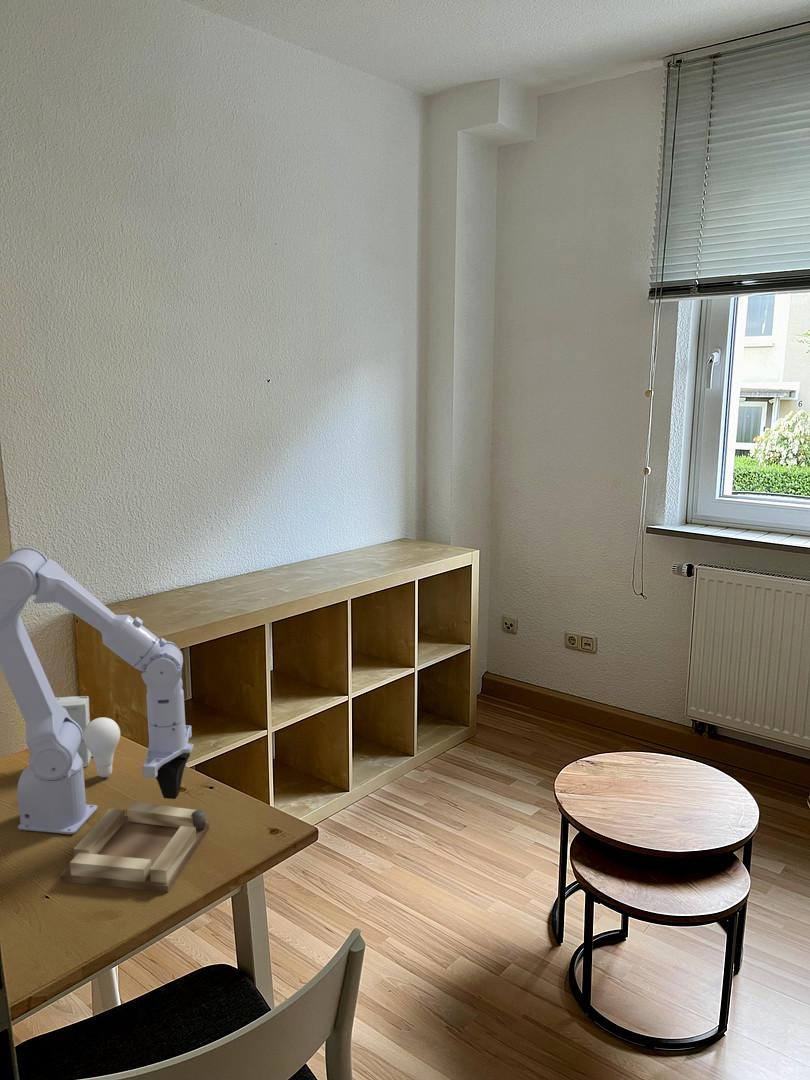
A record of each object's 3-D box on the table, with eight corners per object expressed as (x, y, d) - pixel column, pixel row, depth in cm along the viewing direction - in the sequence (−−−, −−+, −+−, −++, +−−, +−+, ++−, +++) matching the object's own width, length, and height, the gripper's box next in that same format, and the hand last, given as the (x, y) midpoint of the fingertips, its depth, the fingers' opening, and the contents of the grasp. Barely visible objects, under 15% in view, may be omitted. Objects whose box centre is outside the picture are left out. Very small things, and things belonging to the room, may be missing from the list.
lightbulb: (111, 787, 146) (107, 728, 143) (79, 783, 147) (74, 724, 144) (129, 770, 152) (125, 713, 149) (98, 766, 153) (94, 710, 150)
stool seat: (60, 881, 120) (58, 862, 119) (113, 820, 136) (112, 803, 135) (168, 892, 118) (166, 873, 117) (209, 828, 134) (208, 811, 133)
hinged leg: (208, 822, 133) (207, 810, 132) (201, 831, 131) (201, 818, 130) (135, 813, 135) (135, 800, 135) (128, 821, 133) (127, 808, 133)
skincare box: (53, 770, 151) (47, 707, 149) (58, 758, 156) (52, 697, 153) (89, 767, 153) (84, 704, 150) (93, 755, 157) (88, 694, 154)
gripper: (171, 741, 127) (176, 822, 131) (207, 702, 141) (210, 776, 145) (127, 738, 128) (133, 818, 132) (167, 699, 142) (171, 773, 146)
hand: (171, 796), depth 138 cm, fingers closed
